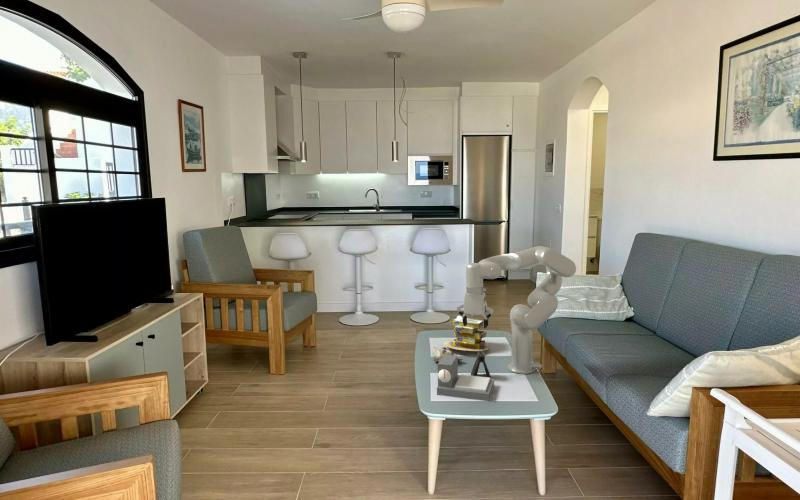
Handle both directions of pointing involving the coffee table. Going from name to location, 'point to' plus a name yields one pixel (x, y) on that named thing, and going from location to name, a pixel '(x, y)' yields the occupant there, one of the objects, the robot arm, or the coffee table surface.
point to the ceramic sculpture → (440, 352)
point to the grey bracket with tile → (461, 381)
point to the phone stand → (476, 366)
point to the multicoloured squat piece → (467, 335)
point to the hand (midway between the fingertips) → (475, 326)
